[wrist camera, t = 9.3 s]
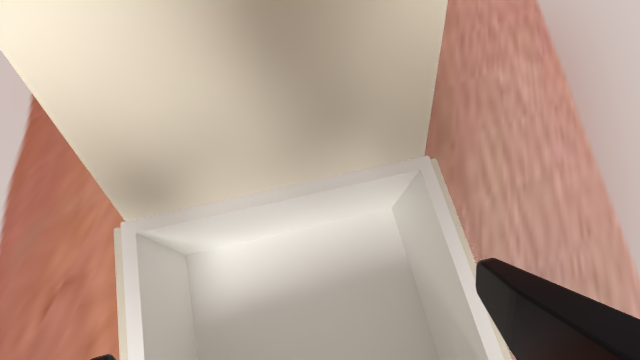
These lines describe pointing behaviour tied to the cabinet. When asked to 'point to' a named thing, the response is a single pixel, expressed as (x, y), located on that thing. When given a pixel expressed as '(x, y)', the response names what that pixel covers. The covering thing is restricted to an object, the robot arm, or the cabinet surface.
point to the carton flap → (227, 90)
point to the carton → (307, 275)
